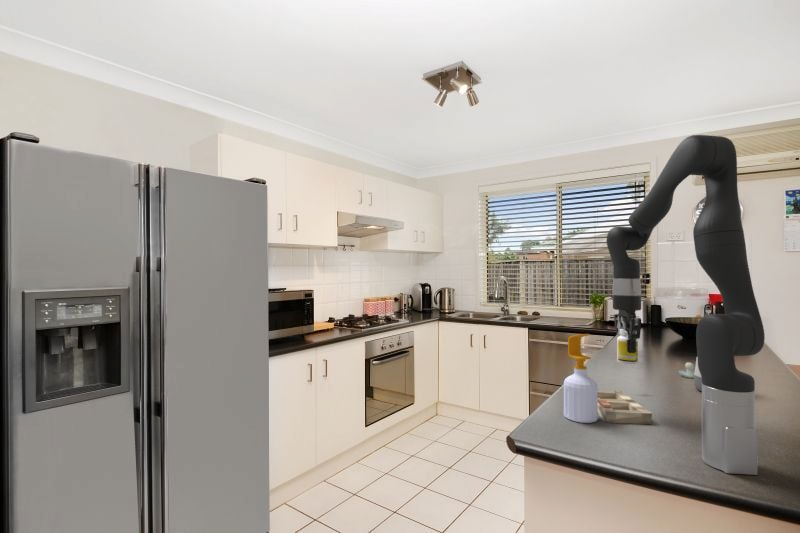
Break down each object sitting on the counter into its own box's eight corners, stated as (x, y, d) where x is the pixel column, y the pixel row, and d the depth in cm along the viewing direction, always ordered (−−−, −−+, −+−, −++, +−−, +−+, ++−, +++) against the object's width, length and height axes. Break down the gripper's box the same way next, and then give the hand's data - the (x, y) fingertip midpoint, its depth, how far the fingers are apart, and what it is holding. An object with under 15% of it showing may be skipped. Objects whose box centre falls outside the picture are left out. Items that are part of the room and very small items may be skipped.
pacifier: (681, 374, 171) (677, 377, 167) (681, 359, 171) (677, 361, 167) (702, 378, 166) (699, 380, 162) (702, 362, 166) (699, 364, 162)
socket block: (651, 424, 116) (651, 409, 116) (606, 422, 117) (606, 408, 117) (620, 400, 137) (620, 388, 137) (582, 399, 138) (582, 387, 138)
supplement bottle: (640, 365, 120) (640, 331, 121) (620, 364, 122) (619, 330, 122) (634, 361, 126) (634, 328, 126) (614, 360, 127) (614, 328, 127)
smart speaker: (705, 387, 152) (705, 349, 152) (733, 394, 144) (733, 353, 144) (687, 390, 149) (687, 350, 149) (715, 397, 140) (715, 355, 140)
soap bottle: (577, 425, 115) (577, 336, 116) (557, 413, 124) (557, 331, 124) (604, 421, 118) (604, 334, 118) (582, 411, 127) (582, 330, 127)
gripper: (651, 295, 116) (652, 355, 116) (630, 293, 131) (630, 347, 130) (622, 294, 118) (623, 355, 117) (604, 292, 132) (605, 346, 131)
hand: (627, 350), depth 124 cm, fingers closed on supplement bottle, 5 cm apart
